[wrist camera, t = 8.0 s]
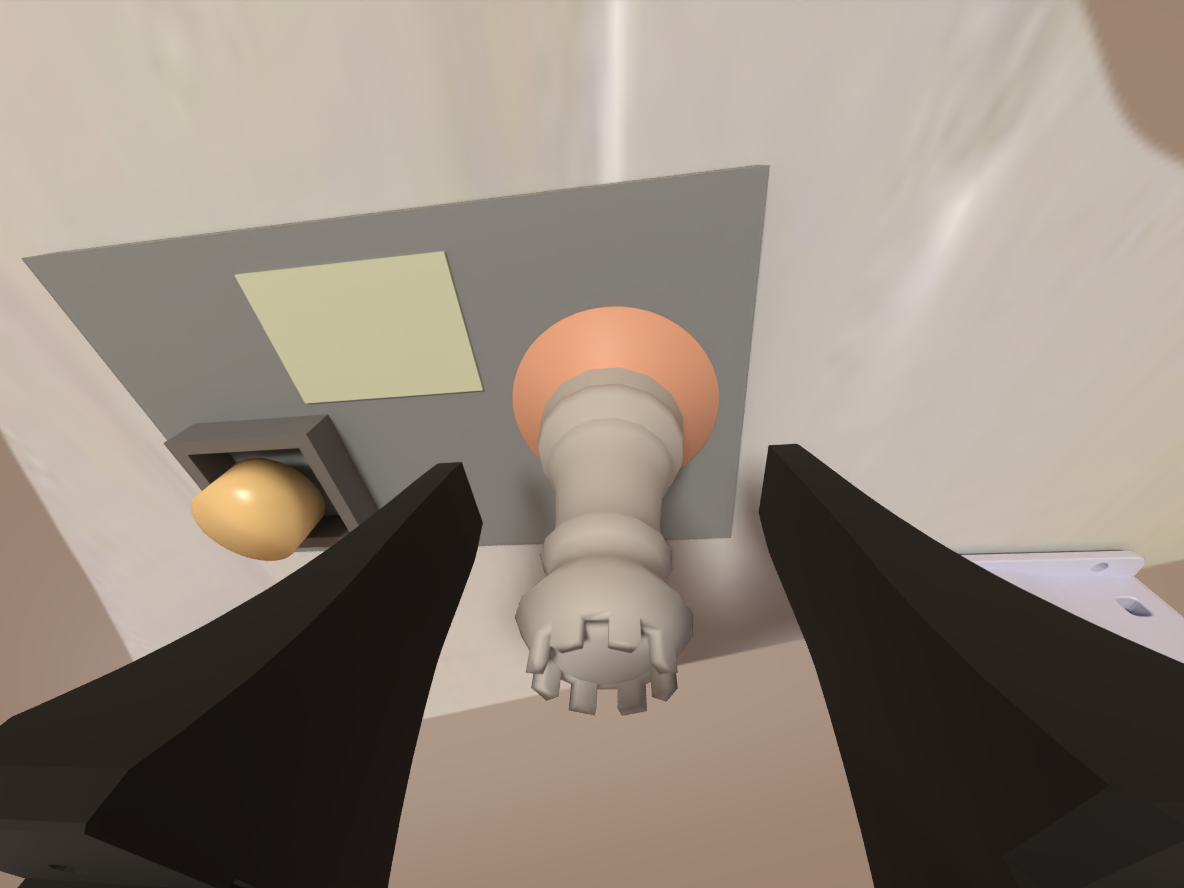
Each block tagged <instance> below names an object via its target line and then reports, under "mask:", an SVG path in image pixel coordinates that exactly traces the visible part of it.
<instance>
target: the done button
mask: <svg viewBox="0 0 1184 888" xmlns="http://www.w3.org/2000/svg"><path fill="white" fill-rule="evenodd" d="M191 512H192V515H193V518H194V520H195V521H196V523H197V525H198V526H199V527H200V528H201V530H202V531H203V532H204V533H205V534H206V535H207V536H209V537H210V538H211V539H212V540H214V541H215V542H216V543H218V544H219V545H221V546H223V547H224V548H226V549H228V550H230V551H232V552H234V553H237V554H239V555H242V556H245V557H248V558H252V559H257V560H265V561H275V560H281V559H284V558H287V557H289V556H290V555H291V554H293V553H294V551H295V550H296V549H297V548H298V546H299V545H300V544H301V543H302V542H303V540H304V539H305V538H306V537H307V536H308V534H309V533H310V532H311V531H312V529H313V528H314V527H315V526H316V525H317V523H318V522H319V521H320V520H321V518H322V517H323V515H324V513H325V502H324V499H323V496H322V494H321V493H320V491H319V490H318V488H317V487H316V486H315V485H314V483H313V482H312V481H310V480H309V479H308V478H307V477H306V476H305V475H303V474H302V473H300V472H299V471H297V470H296V469H294V468H292V467H290V466H288V465H286V464H283V463H281V462H278V461H275V460H271V459H266V458H248V459H244V460H242V461H239V462H238V463H236V464H235V465H234V466H233V467H231V468H230V469H229V470H228V471H226V472H225V473H224V474H223V475H221V476H220V477H219V478H218V479H216V480H215V481H214V482H213V483H212V484H210V485H209V486H208V487H207V488H205V489H204V490H203V491H202V492H200V493H199V494H198V495H197V496H196V497H195V498H194V499H193V501H192V504H191Z"/></svg>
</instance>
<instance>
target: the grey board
mask: <svg viewBox="0 0 1184 888" xmlns="http://www.w3.org/2000/svg"><path fill="white" fill-rule="evenodd" d="M769 168H770V166H769V165H755V166H747V167H739V168H730V169H722V170H714V171H706V172H698V173H690V174H682V175H674V176H666V177H658V178H650V179H642V180H634V181H626V182H618V183H610V184H602V185H594V186H586V187H578V188H570V189H562V190H554V191H546V192H538V193H530V194H522V195H514V196H506V197H498V198H489V199H481V200H473V201H465V202H457V203H449V204H441V205H433V206H425V207H417V208H409V209H401V210H393V211H385V212H377V213H369V214H361V215H353V216H345V217H337V218H329V219H321V220H313V221H305V222H297V223H289V224H281V225H273V226H265V227H256V228H248V229H240V230H232V231H224V232H216V233H208V234H200V235H192V236H184V237H176V238H168V239H160V240H152V241H144V242H136V243H128V244H120V245H112V246H104V247H96V248H88V249H80V250H72V251H64V252H56V253H49V254H44V255H38V256H32V257H26V258H21V259H22V260H23V261H24V262H25V264H26V265H27V266H28V267H29V269H30V270H31V271H32V272H33V273H34V275H35V276H36V277H37V278H38V280H39V281H40V282H41V283H42V285H43V286H44V287H45V288H46V290H47V291H48V292H49V293H50V295H51V296H52V297H53V298H54V300H55V301H56V302H57V303H58V305H59V306H60V307H61V308H62V310H63V311H64V312H65V313H66V315H67V316H68V317H69V318H70V320H71V321H72V322H73V323H74V325H75V326H76V327H77V328H78V330H79V331H80V332H81V333H82V335H83V336H84V337H85V338H86V340H87V341H88V342H89V343H90V345H91V346H92V347H93V348H94V350H95V351H96V352H97V353H98V355H99V356H100V357H101V358H102V360H103V361H104V362H105V363H106V365H107V366H108V367H109V368H110V369H111V371H112V372H113V373H114V374H115V376H116V377H117V378H118V379H119V381H120V382H121V383H122V384H123V386H124V387H125V388H126V389H127V391H128V392H129V393H130V394H131V396H132V397H133V398H134V399H135V401H136V402H137V403H138V404H139V406H140V407H141V408H142V409H143V411H144V412H145V413H146V414H147V416H148V417H149V418H150V419H151V421H152V422H153V423H154V424H155V426H156V427H157V428H158V429H159V431H160V432H161V433H162V434H163V436H164V437H165V438H166V439H167V441H166V442H164V445H165V446H166V447H167V448H168V449H169V451H170V452H171V453H172V454H173V456H174V457H175V458H176V459H177V461H178V462H179V463H180V464H181V465H182V467H183V468H184V469H185V470H186V472H187V473H188V474H189V475H190V477H191V478H192V479H193V480H194V481H195V483H196V484H197V485H198V486H199V488H200V489H201V490H202V491H203V490H204V489H205V488H207V487H208V486H209V485H210V484H212V483H213V482H214V481H215V480H216V479H218V478H219V477H220V476H221V475H223V474H224V473H225V472H226V471H228V470H229V469H230V468H231V467H233V466H234V465H235V464H236V463H238V462H239V461H242V460H244V459H248V458H266V459H271V460H275V461H278V462H281V463H283V464H286V465H288V466H290V467H292V468H294V469H296V470H297V471H299V472H300V473H302V474H303V475H305V476H306V477H307V478H308V479H309V480H310V481H312V482H313V483H314V485H315V486H316V487H317V488H318V490H319V491H320V493H321V494H322V496H323V499H324V502H325V513H324V515H323V517H322V518H321V520H320V521H319V522H318V523H317V525H316V526H315V527H314V528H313V529H312V531H311V532H310V533H309V534H308V536H307V537H306V538H305V539H304V540H303V542H302V543H301V544H300V545H299V546H298V548H297V549H296V550H295V551H294V552H305V551H326V550H327V549H329V548H330V547H331V546H333V545H334V544H335V543H337V542H338V541H339V540H340V539H342V538H343V537H344V536H346V535H347V534H348V533H350V532H351V531H352V530H354V529H355V528H356V527H358V526H359V525H360V524H362V523H363V522H364V521H366V520H367V519H368V518H370V517H371V516H372V515H373V514H375V513H376V512H377V511H378V510H380V509H381V508H382V507H383V506H384V505H386V504H387V503H388V502H389V501H391V500H392V499H393V498H394V497H396V496H397V495H398V494H399V493H401V492H402V491H403V490H404V489H405V488H407V487H408V486H409V485H410V484H412V483H413V482H414V481H415V480H416V479H418V478H419V477H420V476H421V475H423V474H424V473H425V472H427V471H428V470H429V469H431V468H432V467H433V466H435V465H436V464H438V463H451V462H462V464H463V467H464V469H465V472H466V475H467V478H468V481H469V484H470V487H471V490H472V492H473V495H474V498H475V501H476V504H477V507H478V510H479V513H480V515H481V518H482V521H483V526H482V530H481V535H480V540H479V545H478V546H491V545H522V544H544V542H545V539H546V537H547V536H548V535H550V534H551V533H552V532H553V531H554V530H555V524H556V492H555V491H554V489H553V488H552V487H551V485H550V480H549V478H548V477H547V476H546V475H545V473H544V471H543V467H542V462H541V458H540V453H539V448H538V443H537V442H538V438H539V434H540V423H541V419H542V415H543V412H544V408H545V404H546V402H547V401H548V400H549V398H550V397H551V396H552V395H553V394H554V392H555V391H556V390H557V389H558V388H559V387H560V385H561V384H562V383H563V382H565V381H567V380H569V379H571V378H573V377H575V376H577V375H579V374H581V373H583V372H586V371H588V370H592V369H605V368H617V367H621V368H624V369H627V370H631V371H634V372H638V373H641V374H645V375H648V376H650V377H651V378H652V379H654V380H655V381H656V382H657V383H659V384H660V385H661V386H662V387H664V388H665V389H666V390H667V391H669V392H670V393H671V394H672V396H673V398H674V400H675V402H676V404H677V406H678V408H679V410H680V412H681V414H682V416H683V432H684V458H683V462H682V465H681V467H680V469H679V471H678V473H677V475H676V477H675V479H674V481H673V483H672V484H671V486H670V487H669V488H668V490H667V492H666V494H665V496H664V497H663V498H662V506H661V517H660V533H661V534H662V536H663V538H664V539H665V540H677V539H708V538H731V532H732V522H733V513H734V503H735V493H736V484H737V474H738V465H739V455H740V445H741V436H742V426H743V417H744V407H745V398H746V388H747V378H748V369H749V359H750V350H751V340H752V330H753V321H754V311H755V302H756V292H757V283H758V273H759V263H760V254H761V244H762V235H763V225H764V216H765V206H766V196H767V187H768V177H769Z"/></svg>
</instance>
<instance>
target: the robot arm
mask: <svg viewBox="0 0 1184 888" xmlns="http://www.w3.org/2000/svg"><path fill="white" fill-rule="evenodd" d="M759 516H760V520H761V524H762V528H763V532H764V535H765V539H766V543H767V546H768V550H769V553H770V556H771V558H772V561H773V563H774V566H775V568H776V571H777V573H778V575H779V578H780V580H781V583H782V585H783V588H784V590H785V593H786V595H787V597H788V600H789V602H790V605H791V607H792V610H793V612H794V614H795V617H796V619H797V622H798V624H799V626H800V629H801V631H802V634H803V636H804V639H805V641H806V643H807V646H808V649H809V652H810V654H811V657H812V660H813V663H814V665H815V668H816V672H817V675H818V678H819V682H820V685H821V688H822V691H823V695H824V698H825V701H826V705H827V708H828V712H829V715H830V718H831V722H832V725H833V729H834V732H835V736H836V739H837V743H838V747H839V750H840V754H841V757H842V761H843V764H844V768H845V772H846V776H847V779H848V783H849V787H850V791H851V795H852V798H853V802H854V806H855V810H856V814H857V818H858V822H859V825H860V829H861V833H862V837H863V841H864V845H865V850H866V854H867V858H868V862H869V866H870V870H871V875H872V879H873V883H874V887H875V888H1184V618H1183V617H1182V616H1181V615H1180V614H1179V613H1177V612H1176V611H1175V610H1174V609H1172V608H1171V607H1170V606H1169V605H1168V604H1166V603H1165V602H1164V601H1163V600H1162V599H1160V598H1159V597H1158V596H1157V595H1156V594H1154V593H1153V592H1152V591H1151V590H1149V589H1148V588H1147V587H1146V586H1145V585H1144V584H1142V583H1141V582H1140V581H1139V580H1137V579H1136V578H1135V577H1134V575H1135V574H1136V573H1137V572H1138V571H1139V570H1140V569H1141V568H1142V567H1143V565H1144V564H1145V560H1144V559H1143V558H1142V557H1141V556H1139V555H1138V554H1137V553H1135V552H1134V551H1094V552H1056V553H1018V554H980V555H959V554H958V553H956V552H954V551H952V550H950V549H949V548H947V547H945V546H944V545H942V544H940V543H939V542H937V541H935V540H934V539H932V538H931V537H929V536H927V535H926V534H924V533H923V532H921V531H920V530H918V529H916V528H915V527H913V526H912V525H910V524H909V523H907V522H906V521H904V520H902V519H901V518H899V517H898V516H896V515H895V514H893V513H892V512H890V511H889V510H887V509H886V508H885V507H883V506H882V505H880V504H879V503H877V502H876V501H874V500H873V499H872V498H870V497H869V496H867V495H866V494H865V493H863V492H862V491H860V490H859V489H858V488H856V487H855V486H854V485H852V484H851V483H850V482H848V481H847V480H845V479H844V478H843V477H841V476H840V475H839V474H837V473H836V472H835V471H833V470H832V469H831V468H829V467H828V466H827V465H825V464H824V463H823V462H822V461H820V460H819V459H818V458H816V457H815V456H814V455H812V454H811V453H810V452H808V451H807V450H805V449H804V448H803V447H801V446H800V445H798V444H784V445H769V447H768V454H767V461H766V467H765V474H764V481H763V487H762V494H761V501H760V508H759ZM482 526H483V521H482V518H481V515H480V513H479V510H478V507H477V504H476V501H475V498H474V495H473V492H472V490H471V487H470V484H469V481H468V478H467V475H466V472H465V469H464V467H463V464H462V462H451V463H438V464H436V465H435V466H433V467H432V468H431V469H429V470H428V471H427V472H425V473H424V474H423V475H421V476H420V477H419V478H418V479H416V480H415V481H414V482H413V483H412V484H410V485H409V486H408V487H407V488H405V489H404V490H403V491H402V492H401V493H399V494H398V495H397V496H396V497H394V498H393V499H392V500H391V501H389V502H388V503H387V504H386V505H384V506H383V507H382V508H381V509H380V510H378V511H377V512H376V513H375V514H373V515H372V516H371V517H370V518H368V519H367V520H366V521H364V522H363V523H362V524H360V525H359V526H358V527H356V528H355V529H354V530H352V531H351V532H350V533H348V534H347V535H346V536H344V537H343V538H342V539H340V540H339V541H338V542H337V543H335V544H334V545H333V546H331V547H330V548H329V549H327V550H326V551H324V552H323V553H322V554H320V555H319V556H317V557H316V558H314V559H313V560H311V561H310V562H309V563H307V564H306V565H304V566H303V567H301V568H300V569H298V570H297V571H295V572H293V573H292V574H290V575H289V576H287V577H286V578H284V579H283V580H281V581H280V582H278V583H276V584H275V585H273V586H272V587H270V588H268V589H267V590H265V591H263V592H262V593H260V594H258V595H256V596H255V597H253V598H251V599H250V600H248V601H246V602H244V603H243V604H241V605H239V606H237V607H236V608H234V609H232V610H231V611H229V612H227V613H225V614H224V615H222V616H220V617H218V618H217V619H215V620H213V621H211V622H210V623H208V624H206V625H204V626H202V627H200V628H199V629H197V630H195V631H193V632H191V633H189V634H187V635H185V636H183V637H181V638H180V639H178V640H176V641H174V642H172V643H170V644H168V645H166V646H164V647H162V648H160V649H158V650H156V651H154V652H152V653H150V654H148V655H146V656H144V657H142V658H140V659H138V660H136V661H134V662H132V663H130V664H128V665H126V666H124V667H121V668H119V669H117V670H115V671H113V672H111V673H109V674H107V675H104V676H102V677H100V678H98V679H96V680H93V681H91V682H89V683H87V684H85V685H82V686H80V687H78V688H76V689H73V690H71V691H69V692H67V693H65V694H62V695H60V696H58V697H56V698H54V699H51V700H49V701H47V702H45V703H42V704H40V705H38V706H36V707H34V708H31V709H29V710H26V711H24V712H22V713H20V714H17V715H15V716H13V717H11V718H10V719H8V720H7V721H6V722H4V723H3V724H2V725H1V726H0V871H2V872H5V873H9V874H12V875H15V876H19V877H22V878H25V880H24V881H23V882H22V883H21V884H20V886H19V887H18V888H388V883H389V877H390V872H391V866H392V860H393V855H394V850H395V844H396V838H397V833H398V828H399V822H400V816H401V812H402V807H403V802H404V798H405V793H406V788H407V784H408V779H409V774H410V769H411V765H412V759H413V755H414V751H415V747H416V743H417V739H418V735H419V731H420V727H421V722H422V718H423V714H424V710H425V706H426V702H427V699H428V695H429V691H430V687H431V684H432V680H433V676H434V672H435V669H436V665H437V662H438V659H439V656H440V653H441V650H442V647H443V644H444V641H445V639H446V636H447V633H448V631H449V628H450V626H451V623H452V620H453V618H454V615H455V612H456V610H457V607H458V604H459V602H460V599H461V596H462V594H463V591H464V588H465V586H466V583H467V580H468V578H469V575H470V572H471V569H472V566H473V564H474V561H475V557H476V553H477V549H478V545H479V540H480V535H481V530H482Z"/></svg>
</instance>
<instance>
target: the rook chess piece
mask: <svg viewBox="0 0 1184 888" xmlns="http://www.w3.org/2000/svg"><path fill="white" fill-rule="evenodd" d="M537 443H538V448H539V453H540V458H541V462H542V467H543V471H544V473H545V475H546V476H547V477H548V478H549V480H550V485H551V487H552V488H553V489H554V491H555V492H556V524H555V530H554V531H553V532H552V533H551V534H550V535H548V536H547V537H546V539H545V542H544V545H543V548H542V551H541V554H540V556H541V560H542V564H543V568H544V572H545V573H546V574H547V577H545V578H544V579H542V580H541V581H540V582H539V583H538V584H536V585H535V586H534V587H533V588H532V589H530V590H529V591H528V592H527V593H526V594H524V595H523V596H522V597H521V600H520V603H519V606H518V609H517V612H516V616H515V619H516V622H517V625H518V627H519V630H520V633H521V636H522V638H523V640H524V642H525V643H526V645H527V647H528V649H529V650H530V652H529V657H528V662H527V668H526V673H534V675H533V681H532V687H531V688H532V689H533V690H535V691H536V692H537V693H538V694H539V695H541V696H542V697H543V698H544V699H545V700H550V699H553V698H555V697H558V696H559V688H560V680H563V681H565V682H568V683H570V684H571V692H570V703H569V710H570V711H575V712H580V713H585V714H591V715H595V712H596V703H597V689H618V710H619V712H620V713H621V715H622V716H623V715H628V714H633V713H639V712H644V711H647V704H646V684H647V683H649V682H651V688H652V697H654V698H657V699H660V700H663V701H667V700H668V699H669V698H670V697H671V695H672V694H673V693H674V692H675V691H676V689H677V679H676V673H677V663H676V658H677V657H678V656H679V654H680V653H681V651H682V650H683V648H684V647H685V646H686V644H687V643H688V641H689V640H690V638H691V637H692V634H693V614H692V612H691V611H690V609H689V608H688V607H687V605H686V604H685V602H684V601H683V599H682V598H681V596H680V595H679V594H678V593H677V592H676V591H675V590H674V589H673V588H672V587H671V586H669V585H668V584H667V583H666V582H665V580H666V578H667V576H668V575H669V573H670V572H671V570H672V550H671V549H670V547H669V545H668V544H667V542H666V541H665V539H664V538H663V536H662V534H661V533H660V517H661V506H662V498H663V497H664V496H665V494H666V492H667V490H668V488H669V487H670V486H671V484H672V483H673V481H674V479H675V477H676V475H677V473H678V471H679V469H680V467H681V465H682V462H683V458H684V432H683V416H682V414H681V412H680V410H679V408H678V406H677V404H676V402H675V400H674V398H673V396H672V394H671V393H670V392H669V391H667V390H666V389H665V388H664V387H662V386H661V385H660V384H659V383H657V382H656V381H655V380H654V379H652V378H651V377H650V376H648V375H645V374H641V373H638V372H634V371H631V370H627V369H624V368H621V367H617V368H605V369H592V370H588V371H586V372H583V373H581V374H579V375H577V376H575V377H573V378H571V379H569V380H567V381H565V382H563V383H562V384H561V385H560V387H559V388H558V389H557V390H556V391H555V392H554V394H553V395H552V396H551V397H550V398H549V400H548V401H547V402H546V404H545V408H544V412H543V415H542V419H541V423H540V434H539V438H538V442H537Z"/></svg>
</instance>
